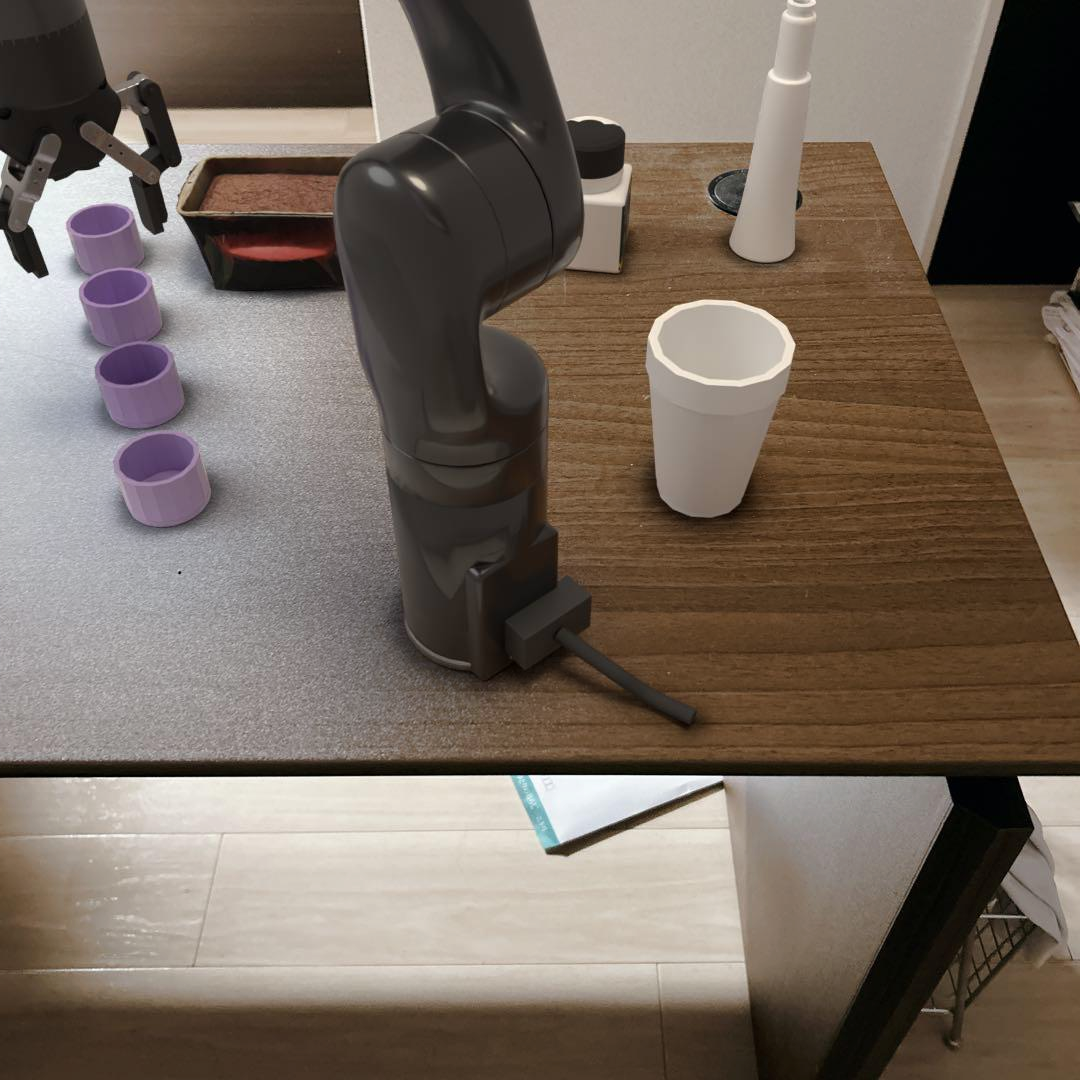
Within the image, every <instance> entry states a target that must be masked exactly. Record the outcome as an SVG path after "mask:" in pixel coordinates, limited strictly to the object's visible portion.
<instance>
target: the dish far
mask: <svg viewBox="0 0 1080 1080" xmlns="http://www.w3.org/2000/svg"><path fill="white" fill-rule="evenodd" d="M65 228H66V232H67V235H68V238H69V240H70V244H71V246H72V250H73V252H74V256H75V258H76V261H77V264H78V265H79V268H80V269H81V271H83V273H85V274H87V275H90V276H92V275H94V274H96V273H99V272H102V271H104V270H108V269H114V268H121V267H122V268H135V269H137V268H138V266H140V265H141V264H142V262H143V261H144V259H145V255H146V253H145V250H144V245H143V242H142V238H141V235H140V234H141V233H140V231H139V227H138V224H137V220H136V217H135V214H134V211H133V210H131V208H129V207H128V206H126V205H123V204H120V203H119V204H118V203H111V202H109V203H108V202H106V203H98V204H92V205H89V206H86V207H83V208H80V209H78V210H77V211H75V212H74V213H72V214H71V215H70V216H69V217H68V219H67V220H66V222H65Z"/></svg>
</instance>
